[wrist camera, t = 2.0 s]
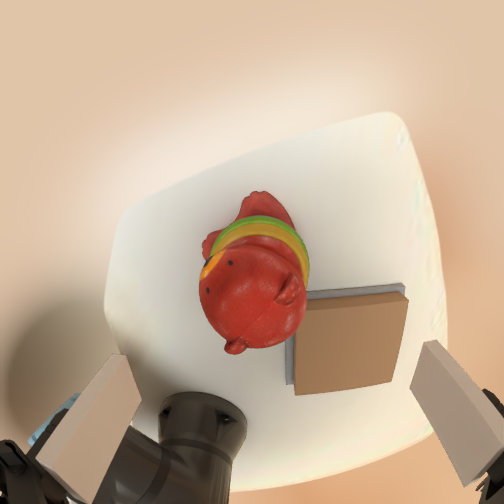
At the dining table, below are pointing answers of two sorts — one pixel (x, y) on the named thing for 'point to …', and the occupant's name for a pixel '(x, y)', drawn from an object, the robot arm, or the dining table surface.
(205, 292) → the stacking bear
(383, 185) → the dining table surface
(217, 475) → the robot arm
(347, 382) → the board
